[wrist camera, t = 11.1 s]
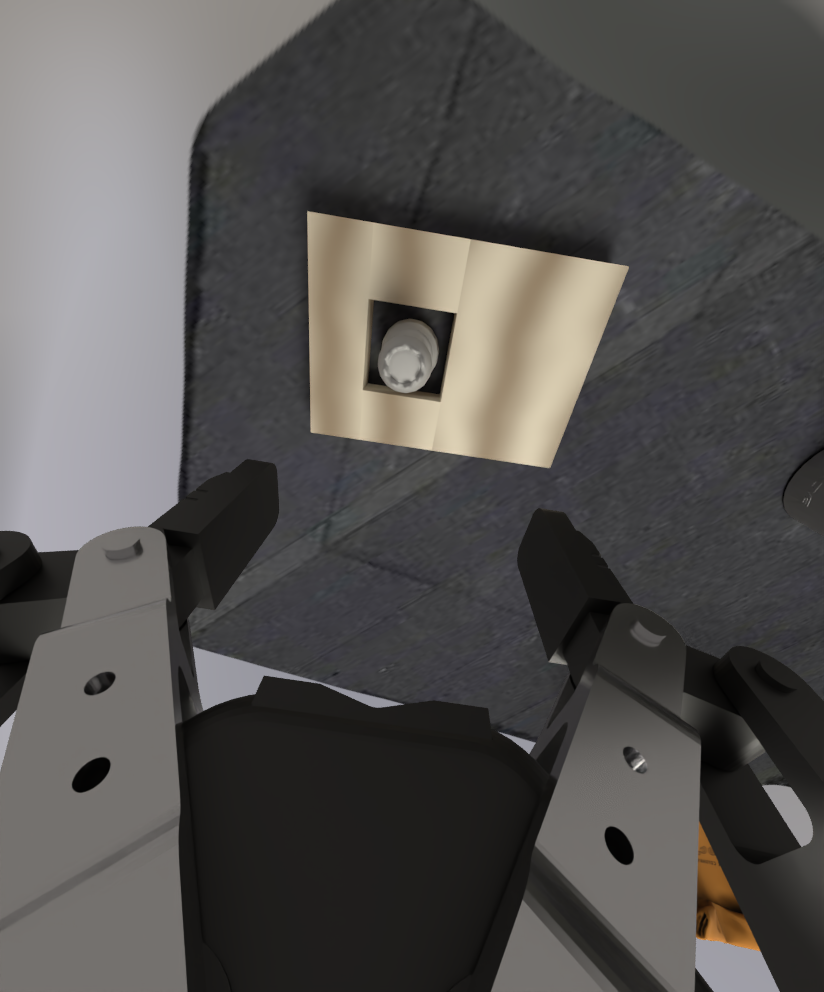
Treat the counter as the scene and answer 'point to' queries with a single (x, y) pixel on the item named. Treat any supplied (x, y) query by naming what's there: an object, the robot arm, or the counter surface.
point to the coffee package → (718, 903)
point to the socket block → (454, 338)
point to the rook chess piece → (408, 355)
